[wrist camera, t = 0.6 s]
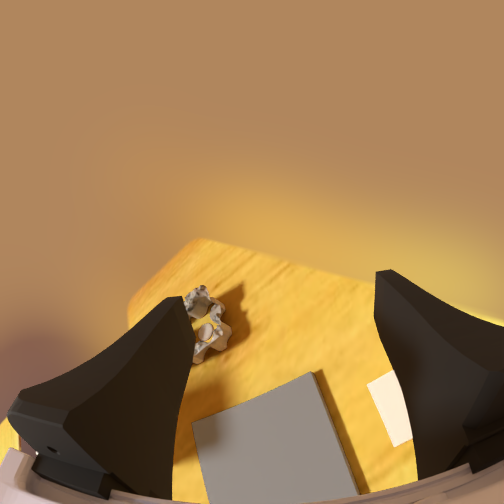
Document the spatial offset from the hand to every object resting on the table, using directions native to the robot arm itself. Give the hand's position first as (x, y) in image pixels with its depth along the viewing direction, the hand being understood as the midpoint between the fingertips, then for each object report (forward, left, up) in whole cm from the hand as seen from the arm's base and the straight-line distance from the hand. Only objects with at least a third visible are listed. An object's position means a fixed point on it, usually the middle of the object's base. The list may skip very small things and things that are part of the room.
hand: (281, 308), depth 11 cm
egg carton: (+14, +16, -17) cm, 28 cm away
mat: (-4, +12, -17) cm, 21 cm away
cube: (-4, -3, -17) cm, 18 cm away
